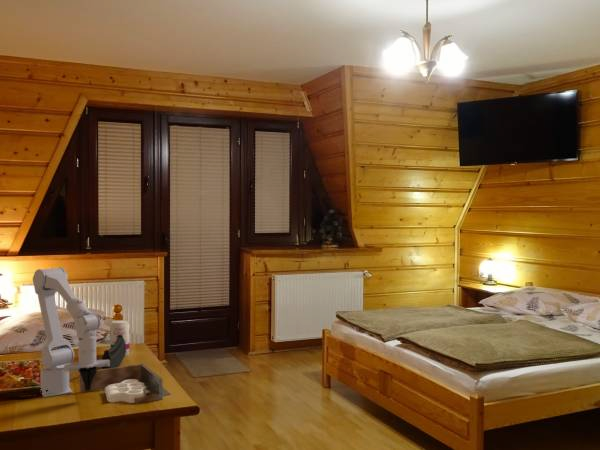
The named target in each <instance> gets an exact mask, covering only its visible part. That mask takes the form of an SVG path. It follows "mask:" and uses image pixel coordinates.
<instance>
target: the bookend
mask: <svg viewBox="0 0 600 450" xmlns="http://www.w3.org/2000/svg"><path fill="white" fill-rule="evenodd" d="M139 364H140V365H141V382H142V383H144V384H145V386H147V388H146V390H148V391H150V392H149V393H151V395H153V394H159V400H163V397H165V396H169V395H170V396H171V394H172V393H171V392H169V391H168V390H167V389H166V388H164V387H163V378H162V377H160V375H158V374H157V373H156V372H154V371H153V370H152V369H150V368H149V367H148V366H147V365H146V364H145V363H139ZM159 400H158V401H159Z"/></svg>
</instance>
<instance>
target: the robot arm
mask: <svg viewBox="0 0 600 450" xmlns="http://www.w3.org/2000/svg"><path fill="white" fill-rule="evenodd" d="M33 274H34V275H33V277H32V282H33V287H34V292H35V294H36V295H37V298H38V304H39V308H40V312H41V318H42V322H43V328H44V332H45V337H46V343H45V344H44V345H43V346H42V347H41V349H40V351H41V364H42V366H43V367H44V368H42V369H40V372H39V374H40V377H39V378H40V384H39V385H40V386H39V387H40V388H41V389H40V388H39V389H40V390H41V391H42V393H41V395H42V397H43V398H47V397H51V396H52V397H53V396H58V395H59V396H60V395H66V394H72V393H73V390H72V389H71V388H70V372H71V371H78V372H79V375H80V374H81V377H82V379H83V382H84V387H85V390H86V391H87V390H90V388H91V384H92V380H93V378H94V376H95V374H96V372H97V370H98V369H97V368H101V367H103V366H110V360H109V359H108V360H102V359H97V330H98V329H99V328H100V326H101V320H100V317H99V315H98V313H96V312H93V311H91V310H90V309H89V308H88V306H87V305H86V303H85V302H84V300H83V299H82V298H81V297H77V296H76V295H75V293H74V291H73V289H72V287H71V285H70V284H69V282H68V278H69V276H68V273H67V272H66V270H65V268H64V267H61V266H60V267H55V268H54V267H53V268H44V269H43V268H42V269H40V268H39V269H36V270H35V272H34V273H33ZM56 293H58V295H60V296H61V297H62V299H63V300H64V301H65V303H66V307H65V309H66V310H67V311H68V313H69V315H70V316H71V318H72V319H73V321H74V329H75V332H76V337H77V338H78V339H77V340H78V344H77V345H78V346H77V347H78V351H77V352H78V353H77V354H78V358H77V361H78V362H73V361H74V360H75V357H76V355H75V351H74V349H73V348H72V345H71V342H70V341H69V340H68V339H66V338H65V337H63V331H62V328H61V321H60V318H59V317H60V316H59V313H58V308H57V304H56V299H55V298H56V297H55V295H56ZM46 390H48V391H46ZM41 391H40V392H41Z"/></svg>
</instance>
